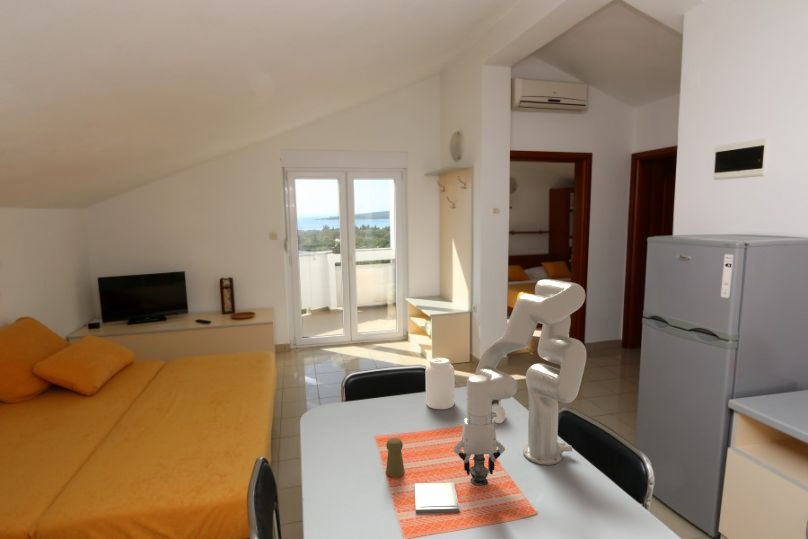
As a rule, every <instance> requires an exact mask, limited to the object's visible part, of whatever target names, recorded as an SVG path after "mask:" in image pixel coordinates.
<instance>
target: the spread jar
mask: <svg viewBox="0 0 808 539" xmlns="http://www.w3.org/2000/svg"><path fill="white" fill-rule="evenodd" d="M492 412H494V413H496V414H497V417H494V418H493V420H494V424H495V423H496V424H501V423H503V422H504V421H505V419H506V416H507V413H506V410H505V408H504V407H503V405H502V400H493V401H492Z"/></svg>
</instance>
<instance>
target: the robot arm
mask: <svg viewBox="0 0 808 539" xmlns="http://www.w3.org/2000/svg"><path fill="white" fill-rule="evenodd" d="M585 300H586V291H585V289H584V287H582V286H581V285H580V284H579V283H576V282H572V281H571V282H570V281H564V280H558V279H549V278H547V279H546V278H545V279H540V280H538V281H537V283H536V284H535V288H534V294H533V293H525V294H522V295H520V296H519V297H518V298H517V300H516V301H515V304H514V306H513V309H512V312H511V314H510V316H509V319H508V322H507V325H506V326H505V329H504V331H503V334H502V335H501V337H499V338H498V339H496V340H495V341H494V342H493V343H491V345H489V346H488V347H487V348H486V349H485V351H483V353H482V355H481V357H480V359H479V362H478V365H477V366H476V369H475V374H473V375H471V376H469V377H468V378H467V380H466V417H465V418H464V420H463V424H462V431H461V440H460V441H459V442H458V443H457V444H456V445H455V446H454V447H453V452H454V453H455V454H456V455H458V456H459V458H460V459H462V461H463V471H465V472H466V475H467V476H469V475H471V473H470V468H471V467H470V466H471V464H470V458H471V456H472V455H474V454H484V455H489V457H488V459H487V460H488V462H487V463H488V465H487V466H488V467H487V469H488V470H489V475H493V472H494V471H495V463H496V460H497V459H498V458H499V457H501V454H503V453H504V452H505V451H506V448H505V446H504V445H503V444H502V443H501V442H500V441H499V440H498V439H497V433H496V432H497V431H496V425H495V422H494V420H493V418H494V417H497V414H496V413H494V412H492V401H493V400H501V401H502V400H508V399H510V398H512V397H514V396H515V395H516V393H517V391H518V387H519V384H518V382H517V381H516V379H515V377H513V376H511V374H508V373H506V372H503V371H501V370H499V369H496V368H497V366H498V364H499V362H500V361H501V359H503V358H504V357H505V356H506V355H509V354H510V353H513V352H516V351H520V350H524V349H527V348H528V347H529V346H530V343H531V341H532V339H533V337H534V336H533V335H534V333H535V331H536V328H537V327H538V324H542V328H541V330H540V331H541V332H540V336H539V340H538V345H537V355H538V356H539V357H540V358H541V359H543V360H545V361H547V362H550V363H553V364H556V365H558V366H560V368H557V367H553V366H552V365H549V364H545V363H542V362H541V363H539V362H538V363H534V364H532V365H530V366H529V367H528V369H527V371H526V374H525V383H526V387H527V394H528V424H527V425H528V430H527V431H528V432H527V433H528V434H527V439H528V440H527V444H526V445H525V446H524V447H523V452H522V453H523V456H524V457H525V458H526V459H528V461H529V462H532V463H535V464H539V465H544V466H546V465H547V466H550V465H555V464H558V463H560V462H561V461H562V459H563V452H568V453H569V452H573V447H572V445H570V444H569V445H566V442H559V441H558V440H559V439H558V436H559V432H558V431H559V430H558V429H559V428H558V427H559V403H562V404H569V403H572V402H574V400H575V399H576V398H577V396H578V394H579V391H580V388H581V384H582V380H583V376H584V371H585V366H586V361H587V349H586V346H585V345H584V343H583V342H582V341H581V340H579V339H577V338H573V337H569V333H570V329H571V323H572V322H571V315H572V314H573V313H575V312H576V311H578V310H579V309H580V308H582V306H583V304H584V302H585ZM461 449H463V451H461Z"/></svg>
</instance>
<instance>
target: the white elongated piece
mask: <svg viewBox="0 0 808 539" xmlns="http://www.w3.org/2000/svg"><path fill="white" fill-rule="evenodd" d="M424 374H425V403H426V406H427V407H428V408H431V409H433V410H448V409H451V408H452V407H454V405H455V402H456V401H455V400H456V399H455V398H456V396H455V385H456V384H455V382H456V381H455V380H456V379H455V368H454V366H453V364H451V362H450V359H448V358H446V357H443V356H442V357H440V356H439V357H437V356H436V357H432V358H431V359H430V360H429V363H428V364H427V365H426V368H425V373H424Z"/></svg>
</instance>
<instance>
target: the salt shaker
mask: <svg viewBox="0 0 808 539" xmlns="http://www.w3.org/2000/svg"><path fill="white" fill-rule="evenodd" d="M473 455H474V457H472V459H473V461H474V462H473V465H472V466H471V467H470V476H471V478H470V483H471V484H472V485H473V486H476V487H485V486H487V485H488V482H489V480H488V479H487V477H488V475H489V474H490V472H489V469H488V467H486V466H485V461H486V458H485V454H473Z"/></svg>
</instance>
